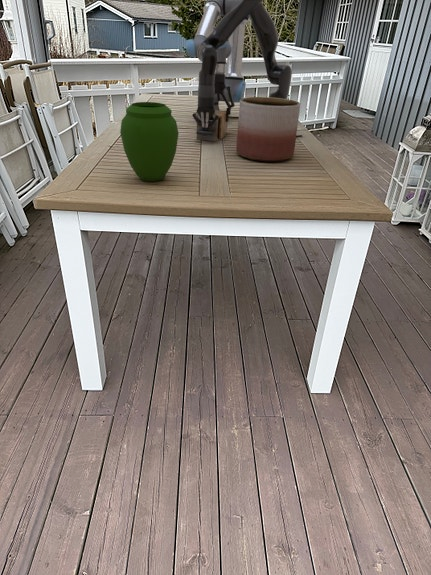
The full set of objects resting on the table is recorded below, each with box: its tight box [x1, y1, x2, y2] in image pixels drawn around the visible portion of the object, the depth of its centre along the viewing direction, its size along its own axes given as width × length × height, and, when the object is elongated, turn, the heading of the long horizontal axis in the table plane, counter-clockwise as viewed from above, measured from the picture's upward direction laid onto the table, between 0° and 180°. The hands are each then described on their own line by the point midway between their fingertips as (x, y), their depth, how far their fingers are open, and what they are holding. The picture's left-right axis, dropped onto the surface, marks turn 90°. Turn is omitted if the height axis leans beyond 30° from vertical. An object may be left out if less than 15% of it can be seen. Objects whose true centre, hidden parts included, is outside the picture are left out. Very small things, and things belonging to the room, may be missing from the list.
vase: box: [119, 101, 179, 182], centre depth 140 cm, size 20×20×24 cm
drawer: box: [195, 117, 220, 142], centre depth 199 cm, size 21×10×9 cm, turn 168°
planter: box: [235, 96, 301, 163], centre depth 175 cm, size 25×25×22 cm
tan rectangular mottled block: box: [200, 109, 228, 141], centre depth 208 cm, size 17×11×11 cm, turn 168°
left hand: (215, 120), depth 212 cm, fingers closed on tan rectangular mottled block, 11 cm apart
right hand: (205, 135), depth 194 cm, fingers closed
